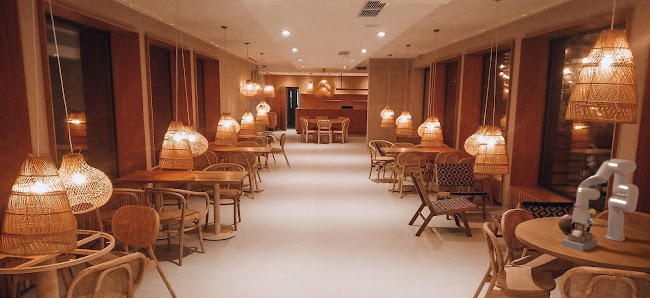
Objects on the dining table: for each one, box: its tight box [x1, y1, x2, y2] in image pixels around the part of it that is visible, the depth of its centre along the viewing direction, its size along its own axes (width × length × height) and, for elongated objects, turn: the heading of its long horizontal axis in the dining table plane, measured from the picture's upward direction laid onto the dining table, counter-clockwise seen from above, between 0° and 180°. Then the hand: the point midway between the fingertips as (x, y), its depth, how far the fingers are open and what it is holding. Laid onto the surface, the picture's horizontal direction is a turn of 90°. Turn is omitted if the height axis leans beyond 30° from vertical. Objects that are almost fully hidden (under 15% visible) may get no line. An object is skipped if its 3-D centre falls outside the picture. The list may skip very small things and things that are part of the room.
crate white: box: [573, 230, 582, 237], centre depth 295 cm, size 4×4×4 cm
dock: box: [561, 237, 598, 252], centre depth 299 cm, size 20×14×5 cm
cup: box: [584, 208, 597, 226], centre depth 349 cm, size 14×8×15 cm, turn 55°
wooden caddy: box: [567, 223, 593, 243], centre depth 298 cm, size 17×8×11 cm, turn 123°
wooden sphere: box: [557, 214, 582, 235], centre depth 324 cm, size 15×15×15 cm
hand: (580, 230), depth 298 cm, fingers open, 9 cm apart
